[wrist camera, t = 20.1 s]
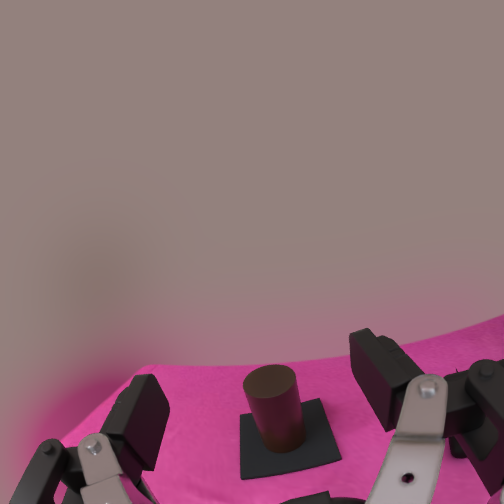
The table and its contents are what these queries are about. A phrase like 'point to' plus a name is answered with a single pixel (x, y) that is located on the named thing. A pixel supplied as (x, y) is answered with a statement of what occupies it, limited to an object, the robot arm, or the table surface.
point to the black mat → (306, 456)
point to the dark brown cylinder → (276, 407)
